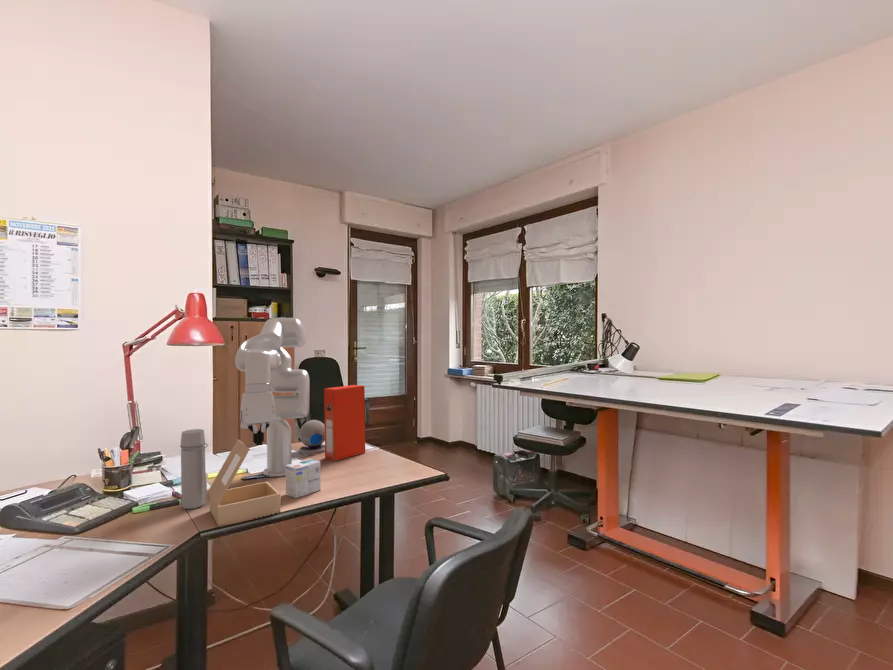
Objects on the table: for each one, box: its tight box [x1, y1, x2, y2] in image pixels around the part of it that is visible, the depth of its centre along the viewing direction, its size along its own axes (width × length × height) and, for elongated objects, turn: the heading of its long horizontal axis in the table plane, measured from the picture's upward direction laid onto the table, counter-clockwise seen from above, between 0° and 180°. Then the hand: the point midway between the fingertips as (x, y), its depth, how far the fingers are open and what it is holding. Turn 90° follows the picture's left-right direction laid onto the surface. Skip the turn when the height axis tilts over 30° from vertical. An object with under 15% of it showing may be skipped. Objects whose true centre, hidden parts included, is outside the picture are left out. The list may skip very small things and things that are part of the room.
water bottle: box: [180, 428, 208, 510], centre depth 150 cm, size 9×8×25 cm
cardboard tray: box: [209, 481, 282, 528], centre depth 145 cm, size 15×18×6 cm
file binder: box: [323, 384, 366, 462], centre depth 210 cm, size 8×17×32 cm, turn 141°
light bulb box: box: [285, 458, 322, 499], centre depth 163 cm, size 11×7×11 cm, turn 141°
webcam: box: [298, 419, 325, 455], centre depth 219 cm, size 13×13×15 cm
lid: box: [207, 438, 251, 506], centre depth 142 cm, size 15×18×1 cm
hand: (258, 444), depth 148 cm, fingers closed
